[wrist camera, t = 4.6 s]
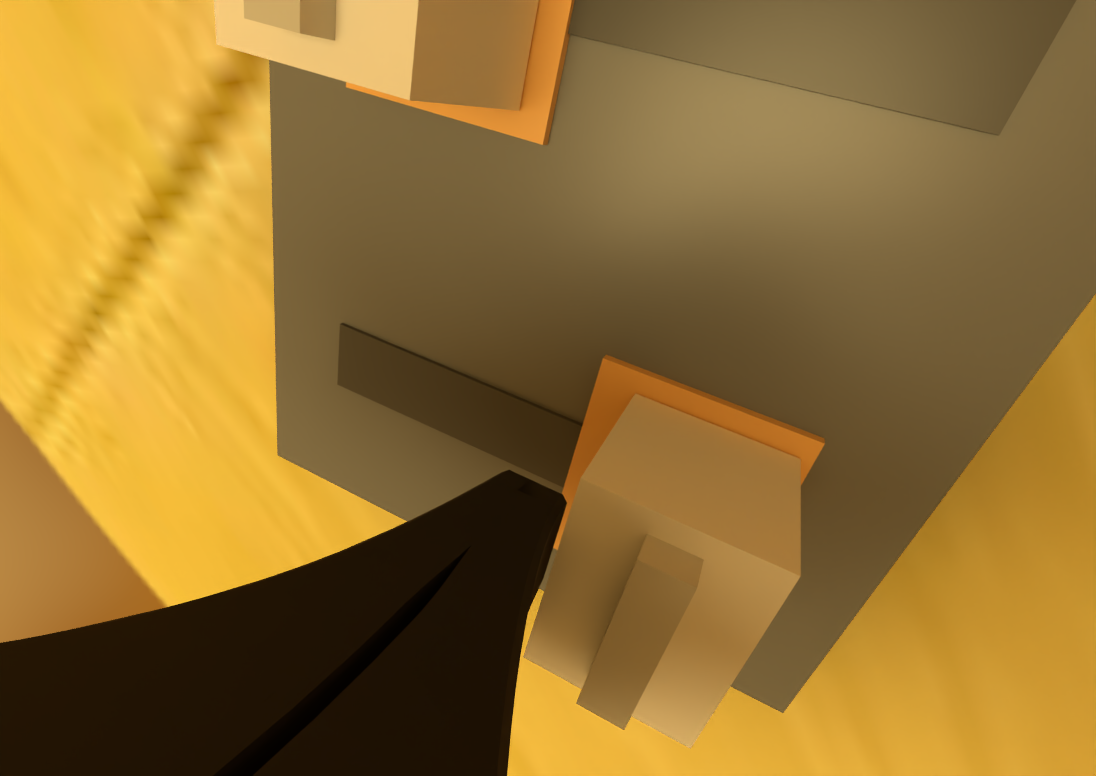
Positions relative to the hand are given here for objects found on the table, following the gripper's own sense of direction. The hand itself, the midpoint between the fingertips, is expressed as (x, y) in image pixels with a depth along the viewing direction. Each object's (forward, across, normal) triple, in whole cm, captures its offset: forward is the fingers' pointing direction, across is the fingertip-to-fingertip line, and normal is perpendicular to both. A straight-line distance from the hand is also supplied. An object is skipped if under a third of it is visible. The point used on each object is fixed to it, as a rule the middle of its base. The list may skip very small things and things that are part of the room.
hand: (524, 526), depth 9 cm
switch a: (+2, -2, 0) cm, 3 cm away
